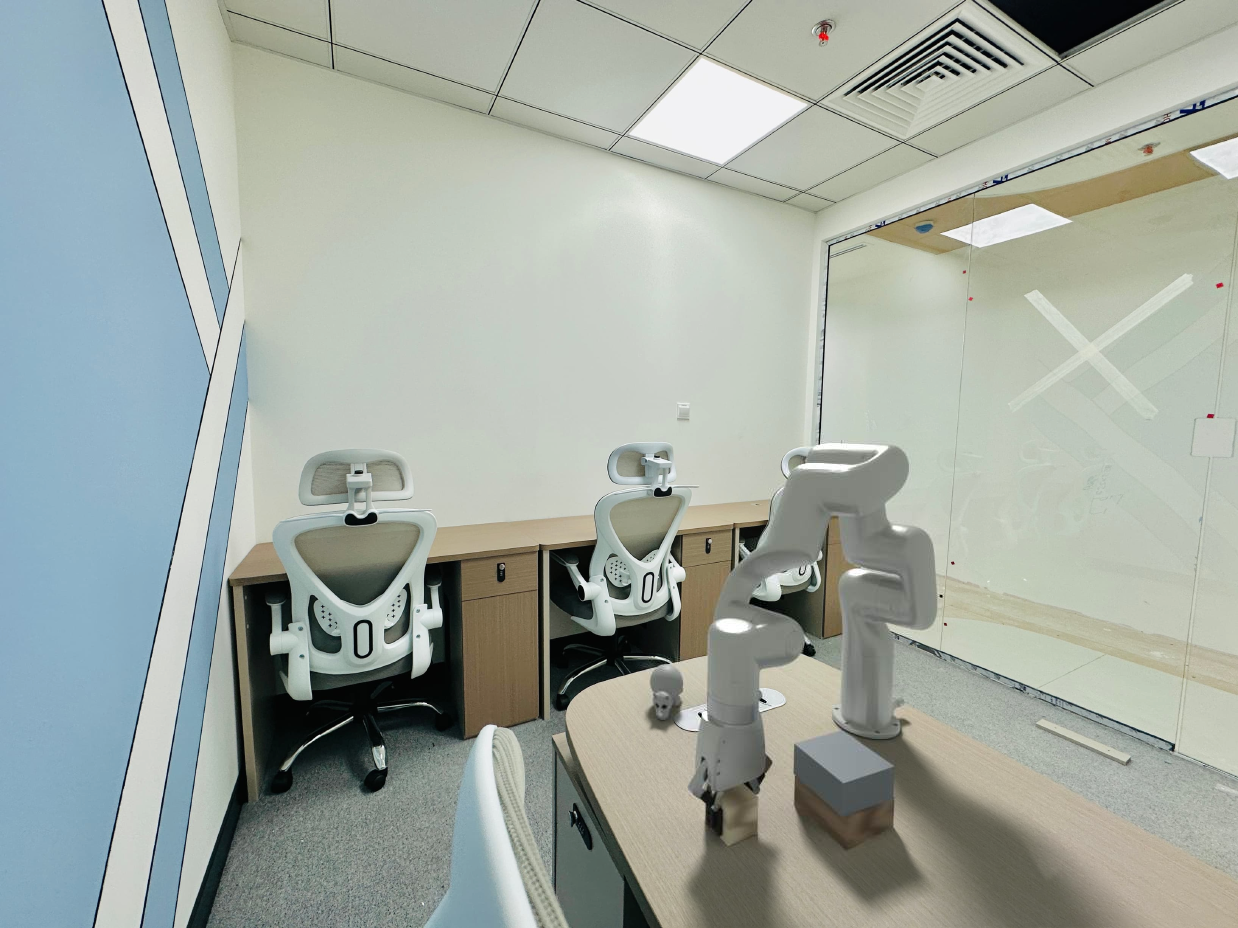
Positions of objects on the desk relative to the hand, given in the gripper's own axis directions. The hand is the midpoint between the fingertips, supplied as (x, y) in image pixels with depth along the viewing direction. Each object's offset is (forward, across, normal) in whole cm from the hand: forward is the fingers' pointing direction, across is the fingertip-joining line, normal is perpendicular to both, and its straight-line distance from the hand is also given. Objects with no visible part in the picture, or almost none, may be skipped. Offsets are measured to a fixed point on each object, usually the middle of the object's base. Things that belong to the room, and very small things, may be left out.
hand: (730, 821), depth 76 cm
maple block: (+1, 0, 0) cm, 1 cm away
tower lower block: (+1, -17, +6) cm, 18 cm away
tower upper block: (-4, -17, +6) cm, 18 cm away
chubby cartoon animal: (+1, -9, -33) cm, 34 cm away
